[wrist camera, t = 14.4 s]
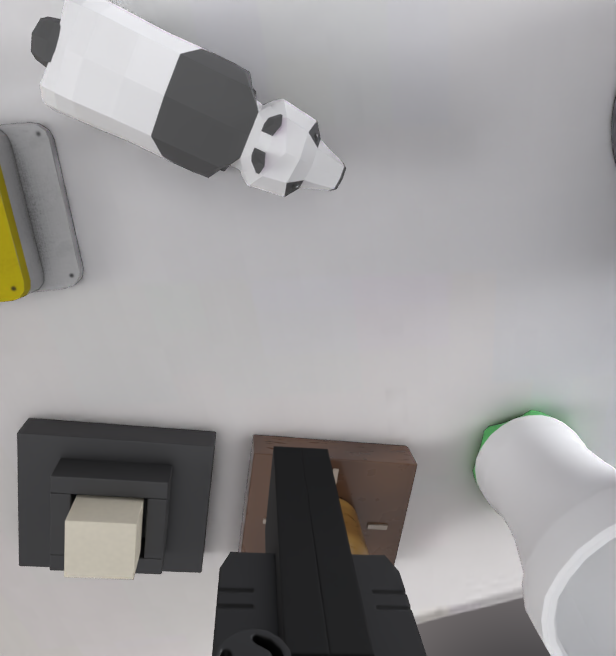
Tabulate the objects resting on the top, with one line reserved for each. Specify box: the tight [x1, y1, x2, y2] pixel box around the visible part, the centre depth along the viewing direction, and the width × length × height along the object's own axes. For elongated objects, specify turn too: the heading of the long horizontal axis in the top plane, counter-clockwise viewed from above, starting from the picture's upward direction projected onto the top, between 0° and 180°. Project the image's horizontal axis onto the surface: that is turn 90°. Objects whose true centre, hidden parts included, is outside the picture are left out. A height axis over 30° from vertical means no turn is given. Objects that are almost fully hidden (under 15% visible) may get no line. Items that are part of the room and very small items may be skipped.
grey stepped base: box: [17, 418, 216, 574], centre depth 37 cm, size 12×10×4 cm
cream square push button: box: [64, 495, 144, 580], centre depth 34 cm, size 4×4×2 cm
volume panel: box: [238, 435, 417, 565], centre depth 40 cm, size 11×10×3 cm
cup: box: [473, 410, 616, 656], centre depth 35 cm, size 11×11×14 cm
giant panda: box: [31, 0, 346, 197], centre depth 27 cm, size 15×6×10 cm, turn 66°
